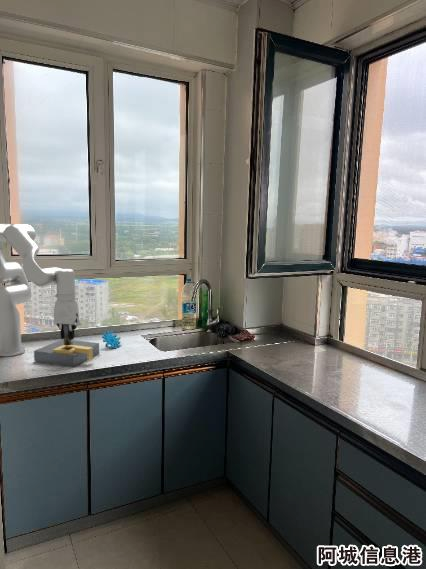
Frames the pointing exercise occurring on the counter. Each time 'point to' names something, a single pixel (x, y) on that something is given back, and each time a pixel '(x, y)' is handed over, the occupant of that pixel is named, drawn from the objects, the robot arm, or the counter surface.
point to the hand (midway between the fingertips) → (67, 338)
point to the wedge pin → (66, 335)
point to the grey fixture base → (64, 359)
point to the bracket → (75, 350)
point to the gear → (111, 339)
